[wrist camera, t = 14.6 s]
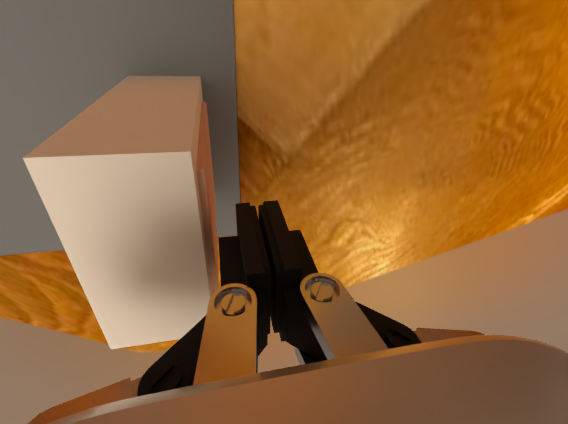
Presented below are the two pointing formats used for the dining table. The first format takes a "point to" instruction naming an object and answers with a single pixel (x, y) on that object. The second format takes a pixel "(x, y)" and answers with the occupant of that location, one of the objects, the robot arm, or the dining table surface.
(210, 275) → the slab
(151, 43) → the mat
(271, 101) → the dining table surface
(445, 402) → the robot arm
